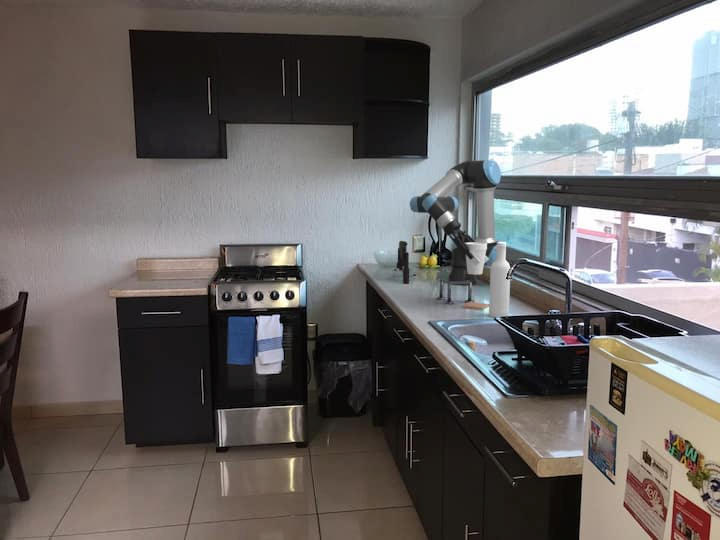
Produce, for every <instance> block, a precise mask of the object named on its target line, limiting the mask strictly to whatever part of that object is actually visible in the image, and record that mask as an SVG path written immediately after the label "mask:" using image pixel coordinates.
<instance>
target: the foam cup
mask: <svg viewBox="0 0 720 540" xmlns="http://www.w3.org/2000/svg"><path fill="white" fill-rule="evenodd" d="M466 245H467V247H468V249H469V251H470V250H471V251H472V252H473V254H474V255H475V256H476V257H477V258H478V259H479V261H480V263H479V264H478V265H477V266H475V265H474V264H473V263H472V262H471V260H470V259H469V258H468V257H467V256H466V263H467V272H468V274H475V275H476V276H477V275H483V272H484V260H485V254H486V250H487V243H477V242H469V243H466Z"/></svg>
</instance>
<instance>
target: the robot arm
mask: <svg viewBox="0 0 720 540" xmlns="http://www.w3.org/2000/svg"><path fill="white" fill-rule="evenodd" d="M501 178H502V172H501V168H500V165H499V163H498V162H497V161H495V160H490V159H484V160H466V161H462V162H460V163H458V164H456V165H454V166H453V167H451V168H449V170H447V171H446V173H445V175H444V176H443V177H442V178H441V179H439V180H438V181H436V183H435V184H433V185H432V187H430V188H429V189H428V190H426V191H425V192H424V193H423V194H422V195H420V196H417V195H416V196H413V197H411V199H410V202H409V207H410V210H411V211H412V213H413V212H414V213H418V214H420V213H421V214H422V213H423V214H428V215H429V216H430V217H431V218H432V219H433V220H434V221H435V222H436V223H437V226H438V227H439V228H441V229H442V230H443V232H444V234H446V236H448V237H449V238H450V239H451V240H452V242H453V243H452V246H451V270H450V273H449V276H448V279H447V281H449V282H459V281H471V282H472V286H474V285H477V283H478V279H477V275H475V274H468V272H467V263H466V256H467V257H468V258H469V259H470V260H471V262H472V263H473V264H474V265H475V266H477V265H478V264H479V263H480V261H479V259H478V258H477V257H476V256H475V255H474V254H473V252H472V251H471V250H470V251H469V249H468V247H467V245H466V243H469V242H477V243H487V250H486V254H485V260H484V266H485V267H491V265H492V263H493V262H494V261H495V260H496V253H497V247H496V245H497V242H499V239H498V238H497V237H496V232H495V227H496V225H495V224H496V223H495V195H494V194H495V193H494V191H495V189H496V188H497V186H498V184H500V182H501ZM463 185H472V189H473V190H474V191H475V192H476V193H475V194H476V196H475V197H476V219H477V220H476V221H477V222H476V225H477V238H476V239H473V238H472V236H470V235H469V234H468V232H467V231H466V230H464V231H463V230H462V229H461V228H462V227H461V226H462V225H461V223H460V222H459V220H458V219H456V217H455V216H454V215H453V213H454V212H456V211H457V210H458V208H459V201H458V199H457V198H456V197H455V196H451V195H449V193H450V192H452V191H453V190H454V189H455V188H459V187H460V186H463ZM484 266H483V267H484ZM454 285H455V286H456V285H458V286H468V283H467V284H454Z"/></svg>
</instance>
